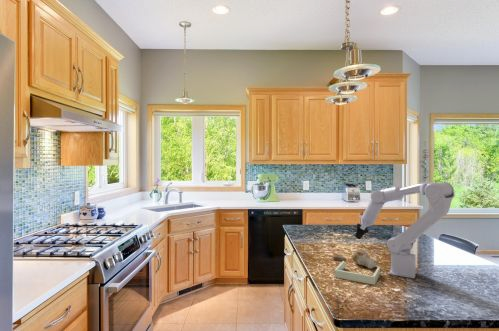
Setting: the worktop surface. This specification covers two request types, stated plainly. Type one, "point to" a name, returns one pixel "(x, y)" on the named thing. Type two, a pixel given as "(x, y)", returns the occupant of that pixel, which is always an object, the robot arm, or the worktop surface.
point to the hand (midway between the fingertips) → (359, 234)
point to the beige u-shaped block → (356, 275)
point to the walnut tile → (338, 257)
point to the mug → (363, 259)
